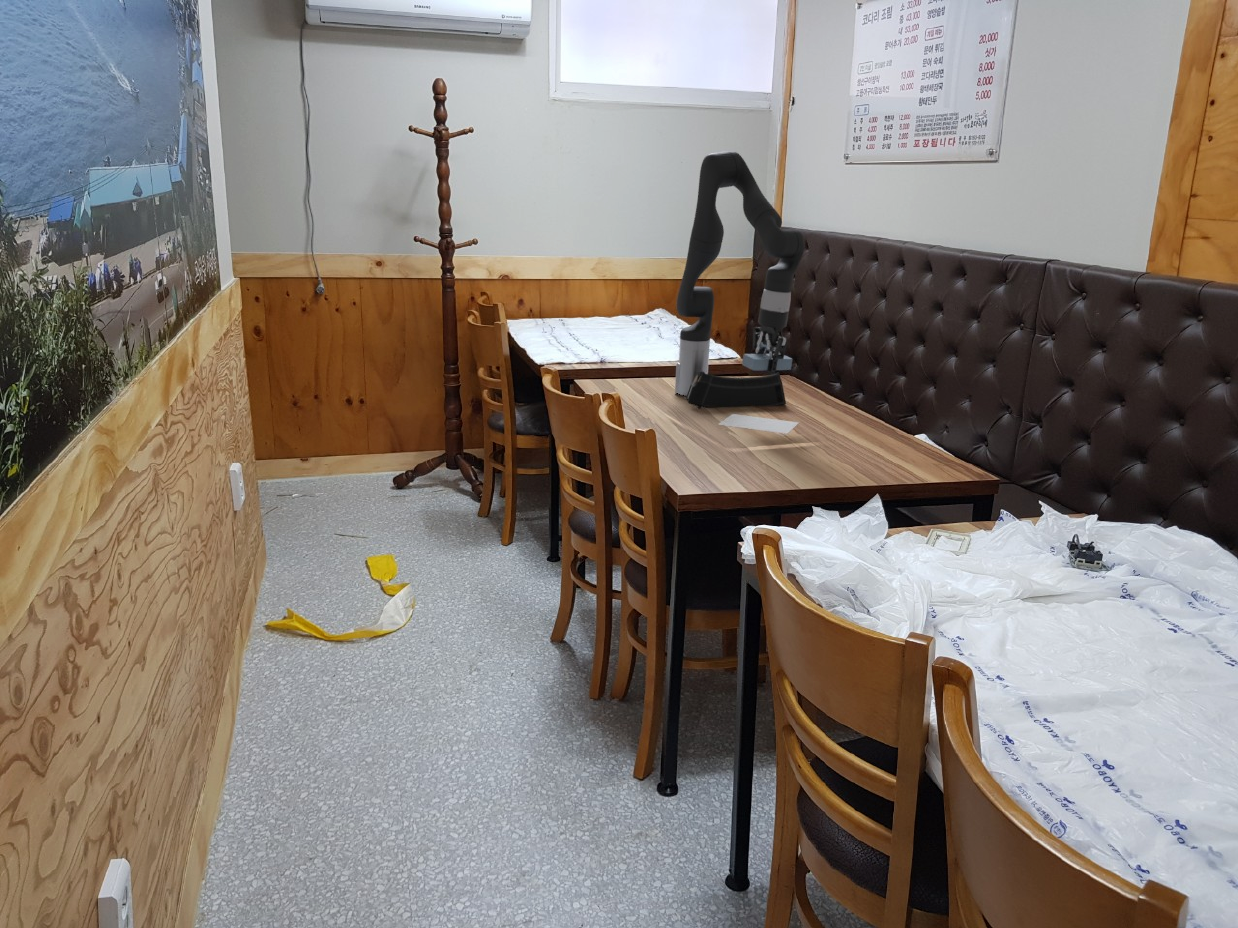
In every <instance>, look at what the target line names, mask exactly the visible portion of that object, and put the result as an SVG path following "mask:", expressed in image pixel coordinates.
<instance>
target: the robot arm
mask: <svg viewBox="0 0 1238 928" xmlns="http://www.w3.org/2000/svg"><path fill="white" fill-rule="evenodd" d="M698 180H699V181H698V191H697V201H696V206H695V213H694V219H693V226H692V228H691V232H690V238H689V245H688V251H687V256H686V262H685V266H684V271H683V274H682V278H681V281H680V285H679V289H678V292H677V298H676V311H677V314H678V315H679V316H680V317H683V318H698V319H697V321H695V323H693V324H691V325H689V326H687V327H684V328H682V329H681V330H680V333H679V334H680V335H679V352H678V362H676V365H675V383H674V386H675V387H674V394H675V393H678V394H677V395H679V394H680V396H683V395H684V396H685V397H687V394H688V391H689V388H690V386H691V385H692V384H693V382H694V379H695V377H696V376H697V375H698V376H699V374H700V372H701V371H702V372H705V374H709V359H710V346H711V333H712V326H713V324H712V323H713V315H714V308H715V294H714V290H713V289H712V288H711V287H710V286H696V284H697V281H698V280H699V278H700V277H701V276H702V274H703V273H704V272H705V271H706V270H707V269H708V268H709V267H710V266H711V265H712V264H713V263H714V262H715V260H717V258H718V256H719V254H720V252H721V249H722V243H723V239H724V235H725V232H724V231H725V229H724V225H723V223H722V219H721V217H720V215H719V212H718V210H717V206H716V201H717V195H718V192H719V189H724V188H729V187H734V188H736V189H737V191H739V192H740V193H741V195H742V210H743V213H744V216H745V218H746V220H747V221H748V223H750V225H751V226H752V227H753V229H754V230H755V231H756V232H757V234H758V237H759V238H758V239H759V240H760V242H761V246H762V248H763V250H764V251H765V253H766V254H768V255H769V256H771V257H772V258H775V259H778V258H779V261H778V262H777V264H776V265H773V266H770V267H769V268H768V269H767V270H766V275H765V281H764V287H763V288H764V289H763V292H762V295H761V299H760V300H761V301H760V308H759V314H758V320H757V322H758V324H759V325H760V326H754V327H753V330H752V331H753V332H752V333H753V334H752V350H755V354H766V353H767V352H769V353H768V354H769V357H770V359H769V363H768V369H767V370H766V372H767V373H768V375H772V374H776V373H777V372H776V371H777V370H776V366H777V361H778V360H779V359H783V358H784V355H785V354H786V351H787V349H788V344H789V338H788V337H784V336H783V329H784V328H786V327H787V324H788V319H789V313H790V307H791V301H792V300H791V297H792V295H791V294H792V289H793V281H794V276H795V274H796V272H797V269H798V267H799V265H800V262H801V261H802V258H803V255H804V251H805V247H806V242H805V237H804V234H802V232H801V231H799V230H796V229H781V227H782V225H783V221H782V217H781V216H780V214H779V213H778V211H776V209H775V208H774V207H773V206H772V205H773V204H771V203H770V202H769V201H768V199H767V198H766V197H765V196H764V194H763V192H762V190H761V189H760V186H759V185H758V183H757V181H756V180H755V178H754V176H753V173H752V172H751V170H750V168H749V166H748V165H747V163H746V161H745V159H744V158H743V157H742V155H741V154H739V153H738V152H737V151H733V150H732V151H731V150H730V151H729V150H728V151H727V150H726V151H719V152H718V151H717V152H712V153H709V154H707V155H705V157H704V158H703V159H702V162H701V166H700V171H699V179H698ZM773 354H774V355H773ZM785 356H786V355H785ZM684 396H683V397H684Z"/></svg>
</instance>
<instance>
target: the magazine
mask: <svg viewBox="0 0 1238 928" xmlns="http://www.w3.org/2000/svg"><path fill="white" fill-rule="evenodd" d="M685 400H686V401H687V403H688V404H689V405H693V406H695V407H697V408H698V410H699V409H701V408H706V409H714V408H715V409H716V408H717V409H718V408H736V407H737V408H739V407H742V408H743V407H745V408H746V407H774V406H780V405H786V404H787V401H786V396H785V391H784V386H783V381H782V378H781V374H780V372H775V373H772V374H768V375H764V376H754V377H753V376H752V377H751V376H750V377H749V376H748V377H729V376H727V377H726V376H720V375H713V374H711V373H710V374H709V373H708V374H705V372H702V371H701V372H700V374H699V376H698V375H697V376H696V377H695V379H694V382H693V384H692V385H691V386H690V388H689V391H688V394H687V396H685Z"/></svg>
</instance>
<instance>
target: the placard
mask: <svg viewBox="0 0 1238 928" xmlns="http://www.w3.org/2000/svg"><path fill="white" fill-rule="evenodd" d="M773 355H774V353H773ZM742 356H743V357H742V363H741V365H742V366H744V367H745V368H747V369H750V370H751V371H767V369H768V363H769V359H770V357H769V353H764V354H757V353H744V354H743V355H742ZM792 364H793V358H792V357H789V356H788V355H784V358H783V359H779V360H778V361H777V366H776V371H787V370H788V371H790V370H792V366H793V365H792Z"/></svg>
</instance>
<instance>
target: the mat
mask: <svg viewBox="0 0 1238 928" xmlns="http://www.w3.org/2000/svg"><path fill="white" fill-rule="evenodd" d="M799 423H800V422H799V421H791V420H783V419H774V418H768V417H767V418H766V417H761V416H751V415H743V414H735V413H732V414H731V415H729V416H727V417H726V418H725V419H723V420H722V421H720V422H719V423H718V424H717V425H719V426H726V427H732V428H733V427H734V428H741V429H748V430H749V429H750V430H754V431H762V432H768V433H769V432H770V433H778V434H784V435H785V434H786V435H788V434H789V433H790V432H791V431H793V429H794V428H795V427H796V426H797V425H799Z"/></svg>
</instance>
